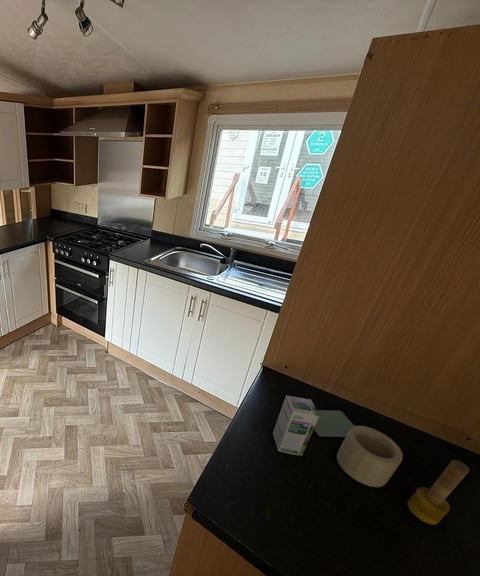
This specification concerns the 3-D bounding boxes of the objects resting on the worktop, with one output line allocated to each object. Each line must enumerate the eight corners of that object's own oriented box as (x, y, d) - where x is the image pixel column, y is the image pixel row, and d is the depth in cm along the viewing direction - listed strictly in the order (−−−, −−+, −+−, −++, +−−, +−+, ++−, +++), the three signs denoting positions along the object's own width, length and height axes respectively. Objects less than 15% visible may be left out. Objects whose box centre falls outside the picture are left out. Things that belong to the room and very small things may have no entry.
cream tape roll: (365, 450, 81) (379, 426, 77) (397, 488, 72) (414, 463, 68) (327, 449, 81) (339, 425, 77) (354, 487, 73) (369, 462, 69)
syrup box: (277, 452, 80) (293, 412, 74) (271, 433, 86) (286, 394, 79) (302, 457, 79) (320, 416, 73) (294, 437, 84) (311, 398, 78)
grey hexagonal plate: (340, 411, 92) (341, 410, 92) (363, 438, 84) (363, 437, 84) (299, 410, 93) (300, 409, 92) (318, 437, 85) (319, 436, 84)
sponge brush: (423, 500, 70) (460, 454, 63) (445, 525, 65) (487, 478, 58) (400, 500, 70) (435, 453, 63) (420, 525, 66) (460, 477, 58)
